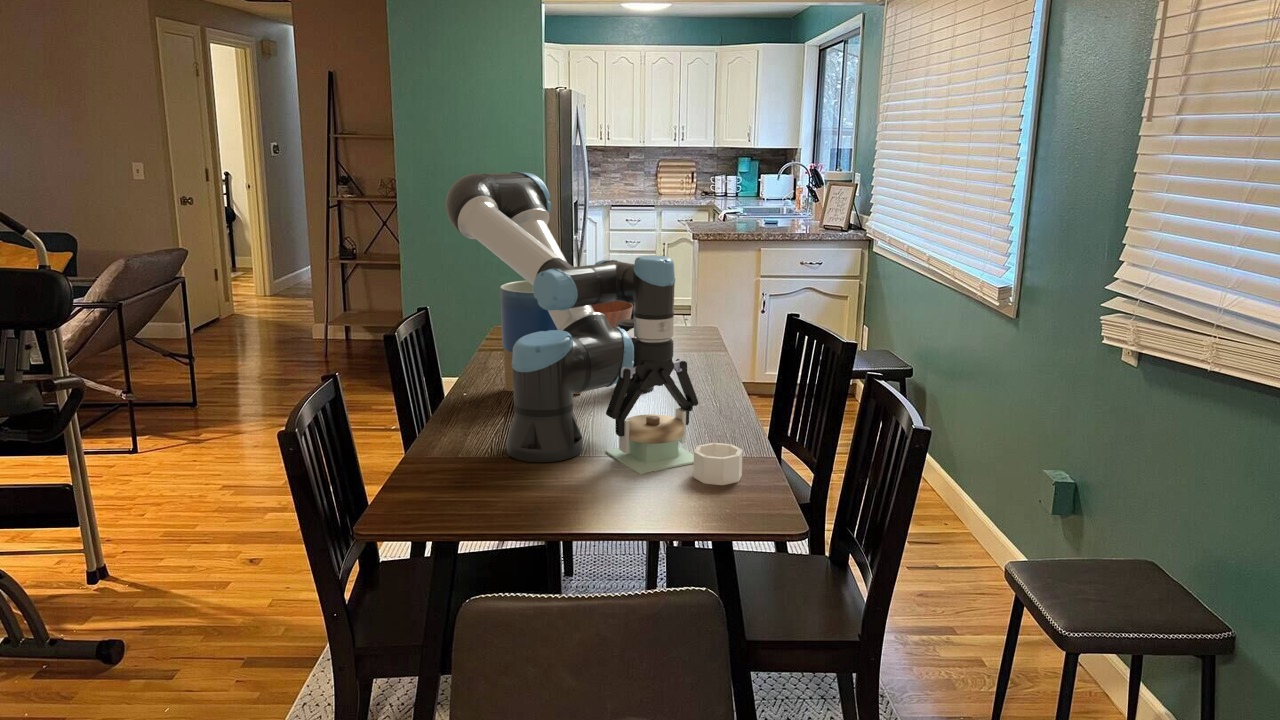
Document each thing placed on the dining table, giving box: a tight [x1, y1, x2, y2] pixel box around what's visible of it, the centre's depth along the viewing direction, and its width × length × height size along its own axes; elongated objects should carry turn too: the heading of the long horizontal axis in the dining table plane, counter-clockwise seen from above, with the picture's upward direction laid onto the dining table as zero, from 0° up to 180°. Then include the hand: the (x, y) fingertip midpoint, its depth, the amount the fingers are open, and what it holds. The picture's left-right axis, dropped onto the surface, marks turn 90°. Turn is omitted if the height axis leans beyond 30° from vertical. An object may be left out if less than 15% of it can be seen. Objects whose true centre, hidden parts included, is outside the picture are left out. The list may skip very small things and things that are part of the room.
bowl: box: [591, 301, 634, 327], centre depth 280 cm, size 25×25×11 cm
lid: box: [626, 413, 684, 444], centre depth 180 cm, size 12×12×3 cm
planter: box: [499, 280, 583, 395], centre depth 224 cm, size 19×19×26 cm
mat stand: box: [604, 440, 694, 475], centre depth 181 cm, size 14×14×4 cm
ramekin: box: [692, 442, 743, 486], centre depth 170 cm, size 8×8×5 cm
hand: (652, 446), depth 181 cm, fingers closed on lid, 12 cm apart
